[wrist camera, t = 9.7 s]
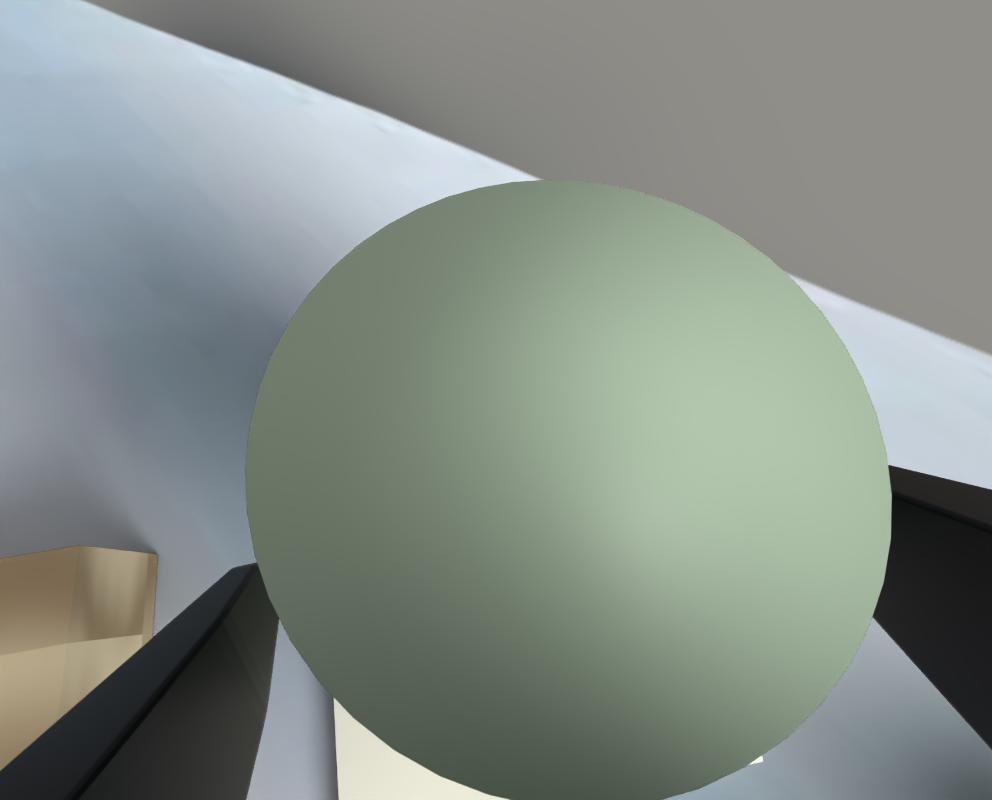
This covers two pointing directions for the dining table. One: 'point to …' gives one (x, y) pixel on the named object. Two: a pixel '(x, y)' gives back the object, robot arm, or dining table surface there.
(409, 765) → the tile
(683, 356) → the pin
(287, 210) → the dining table surface
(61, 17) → the dining table surface
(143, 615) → the pocket block
